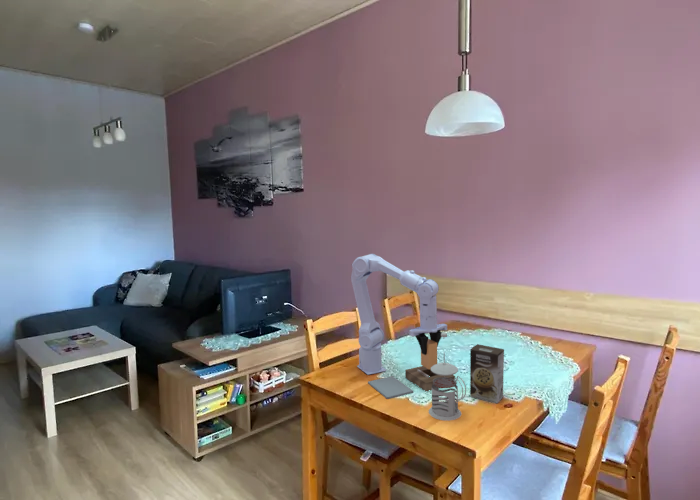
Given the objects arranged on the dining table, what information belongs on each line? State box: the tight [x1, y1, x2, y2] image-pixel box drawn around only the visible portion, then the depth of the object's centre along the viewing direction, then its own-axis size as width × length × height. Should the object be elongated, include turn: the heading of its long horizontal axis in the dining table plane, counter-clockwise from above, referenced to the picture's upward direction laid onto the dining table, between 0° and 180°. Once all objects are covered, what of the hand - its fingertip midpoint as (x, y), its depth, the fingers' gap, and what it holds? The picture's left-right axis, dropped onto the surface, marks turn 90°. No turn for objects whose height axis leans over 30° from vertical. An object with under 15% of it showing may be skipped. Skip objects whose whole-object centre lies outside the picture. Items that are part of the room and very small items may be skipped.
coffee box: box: [469, 343, 505, 404], centre depth 141 cm, size 9×6×16 cm
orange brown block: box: [420, 338, 438, 370], centre depth 155 cm, size 5×4×9 cm
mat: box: [367, 375, 414, 400], centre depth 151 cm, size 14×10×1 cm
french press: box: [428, 331, 467, 422], centre depth 131 cm, size 10×12×25 cm
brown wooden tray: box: [404, 365, 456, 392], centre depth 156 cm, size 13×12×4 cm
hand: (428, 352), depth 154 cm, fingers closed on orange brown block, 3 cm apart
